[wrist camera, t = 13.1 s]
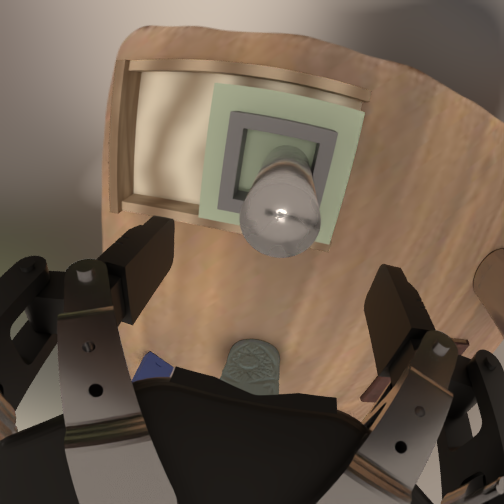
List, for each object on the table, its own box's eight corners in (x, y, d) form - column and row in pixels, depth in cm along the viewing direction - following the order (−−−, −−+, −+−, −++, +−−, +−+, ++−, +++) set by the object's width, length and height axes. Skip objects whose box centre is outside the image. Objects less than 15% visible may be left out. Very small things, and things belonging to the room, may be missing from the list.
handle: (313, 150, 23) (329, 192, 13) (304, 193, 25) (309, 264, 15) (268, 141, 23) (245, 175, 13) (260, 184, 25) (234, 249, 15)
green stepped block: (351, 110, 26) (372, 113, 19) (323, 220, 33) (331, 257, 25) (229, 86, 27) (206, 80, 19) (214, 197, 33) (190, 227, 26)
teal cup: (256, 378, 51) (247, 433, 40) (213, 351, 48) (195, 408, 38) (296, 355, 46) (292, 416, 36) (250, 324, 44) (237, 387, 33)
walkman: (144, 355, 53) (121, 402, 42) (150, 350, 51) (126, 398, 41) (175, 376, 54) (156, 423, 44) (182, 372, 53) (163, 421, 43)
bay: (362, 92, 26) (374, 90, 21) (325, 236, 35) (329, 257, 30) (138, 63, 27) (116, 60, 22) (129, 198, 36) (110, 212, 32)
